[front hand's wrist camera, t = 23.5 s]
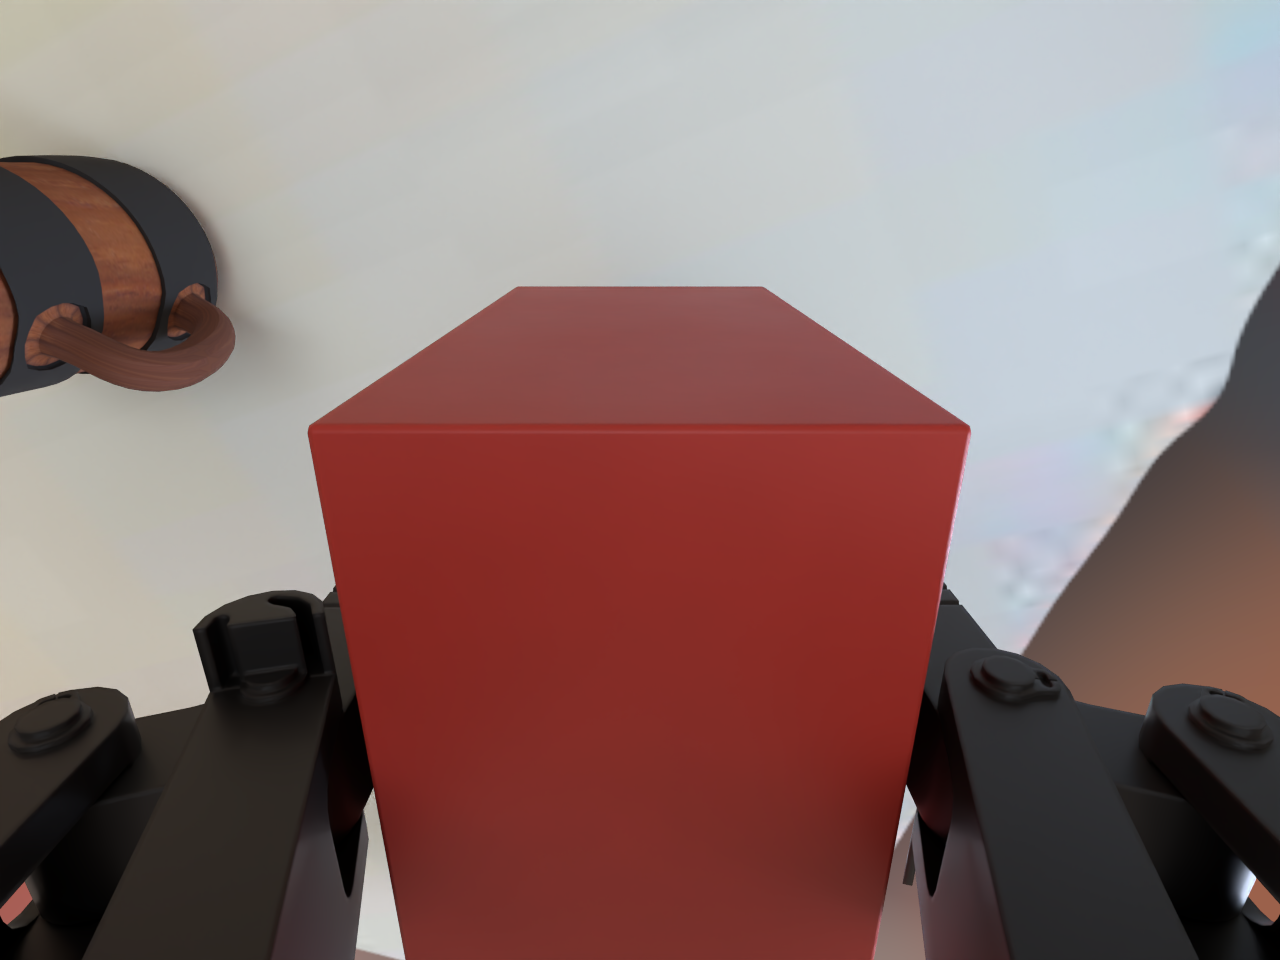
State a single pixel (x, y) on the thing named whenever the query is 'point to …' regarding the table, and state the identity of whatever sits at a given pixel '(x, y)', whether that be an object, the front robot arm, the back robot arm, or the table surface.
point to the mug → (103, 279)
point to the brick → (639, 623)
